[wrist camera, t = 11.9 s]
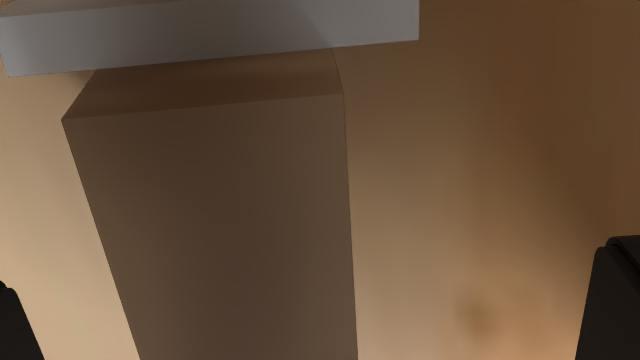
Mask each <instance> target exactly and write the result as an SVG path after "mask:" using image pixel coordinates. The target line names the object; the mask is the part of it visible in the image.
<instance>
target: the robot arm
mask: <svg viewBox="0 0 640 360" xmlns="http://www.w3.org/2000/svg"><path fill="white" fill-rule="evenodd" d="M0 360H45V359H44V357H43V354H42V352H41V349H40V347H39V345H38V342H37V340H36V338H35V335H34V333H33V331H32V328H31V326H30V323H29V321H28V319H27V316H26V314H25V312H24V309H23V307H22V305H21V302H20V300H19V297H18V295H17V293H16V292H15V290H13V289H12V288H7V287H6V285H5V284H4V283H3V282H2V281H0ZM575 360H640V235H632V236H617V237H611V238H609V240H608V241H607V243H606V246H605V247H599V248H598V249H597V250H596V253H595V256H594V262H593V267H592V272H591V278H590V283H589V288H588V293H587V299H586V304H585V309H584V314H583V320H582V325H581V330H580V335H579V341H578V346H577V351H576V357H575Z"/></svg>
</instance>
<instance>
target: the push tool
mask: <svg viewBox="0 0 640 360" xmlns="http://www.w3.org/2000/svg"><path fill="white" fill-rule="evenodd" d="M412 40H419V0H14V1H12V2H11V3H9V4H8V5H6V6H5V7H3V8H2V9H0V56H1V58H2V61H3V64H4V67H5V69H6V72H7V75H8V77H18V76H29V75H39V74H50V73H61V72H72V71H83V70H94V69H97V70H96V72H95V73H94V74H93V76H92V77H91V79H90V80H89V81H88V83H87V84H86V86H85V87H84V88H83V90H82V91H81V93H80V94H79V95H78V97H77V98H76V99H75V101H74V102H73V104H72V105H71V106H70V108H69V109H68V111H67V112H66V113H65V115H64V116H63V117H62V119H61V122H62V125H63V128H64V131H65V134H66V137H67V140H68V143H69V146H70V149H71V152H72V155H73V158H74V161H75V164H76V167H77V170H78V173H79V176H80V179H81V182H82V185H83V188H84V191H85V194H86V197H87V200H88V203H89V206H90V209H91V212H92V215H93V218H94V221H95V224H96V227H97V230H98V233H99V236H100V239H101V242H102V245H103V248H104V252H105V255H106V258H107V261H108V264H109V267H110V270H111V273H112V276H113V279H114V282H115V285H116V288H117V291H118V294H119V297H120V300H121V303H122V306H123V309H124V312H125V315H126V318H127V321H128V324H129V327H130V330H131V333H132V336H133V339H134V342H135V345H136V348H137V351H138V354H139V357H140V360H358V350H357V332H356V313H355V295H354V277H353V259H352V241H351V222H350V204H349V186H348V168H347V149H346V131H345V113H344V95H343V90H342V86H341V82H340V78H339V74H338V70H337V66H336V62H335V58H334V55H333V51H332V48H335V47H346V46H357V45H368V44H379V43H390V42H401V41H412Z"/></svg>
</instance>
